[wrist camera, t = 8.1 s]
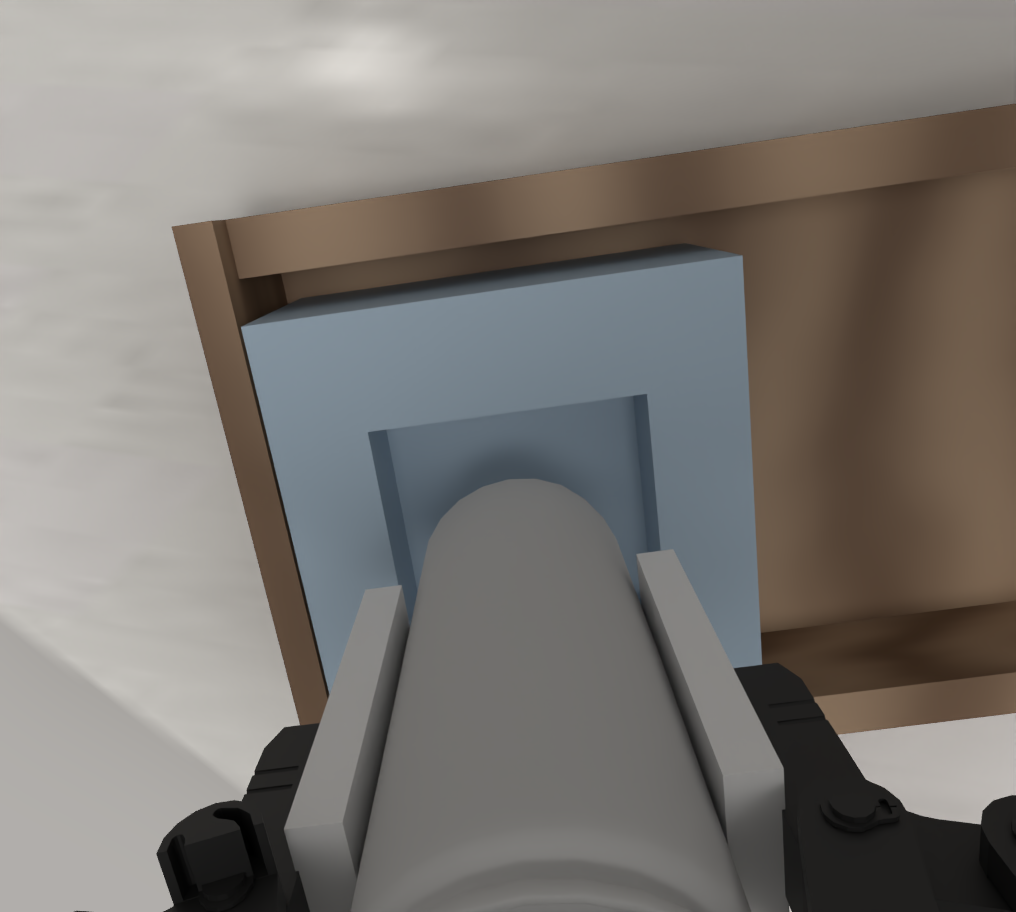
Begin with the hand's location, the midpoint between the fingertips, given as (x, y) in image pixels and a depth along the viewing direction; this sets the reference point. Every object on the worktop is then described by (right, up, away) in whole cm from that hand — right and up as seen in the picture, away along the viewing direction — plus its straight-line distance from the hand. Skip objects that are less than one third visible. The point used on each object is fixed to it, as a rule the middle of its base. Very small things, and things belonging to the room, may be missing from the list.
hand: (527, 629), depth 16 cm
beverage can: (0, +1, +3) cm, 3 cm away
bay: (+5, +4, +11) cm, 13 cm away
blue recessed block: (0, +3, +10) cm, 11 cm away
